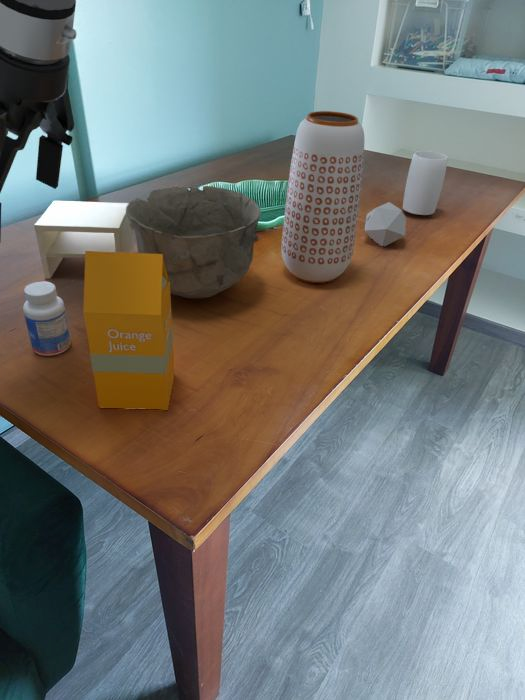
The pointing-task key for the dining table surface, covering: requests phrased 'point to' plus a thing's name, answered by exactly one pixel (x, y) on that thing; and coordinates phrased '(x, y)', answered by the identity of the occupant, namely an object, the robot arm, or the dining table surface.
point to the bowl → (197, 236)
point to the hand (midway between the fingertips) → (19, 210)
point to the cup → (424, 182)
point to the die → (385, 224)
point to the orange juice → (129, 329)
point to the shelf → (82, 231)
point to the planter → (323, 196)
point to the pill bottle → (46, 319)
